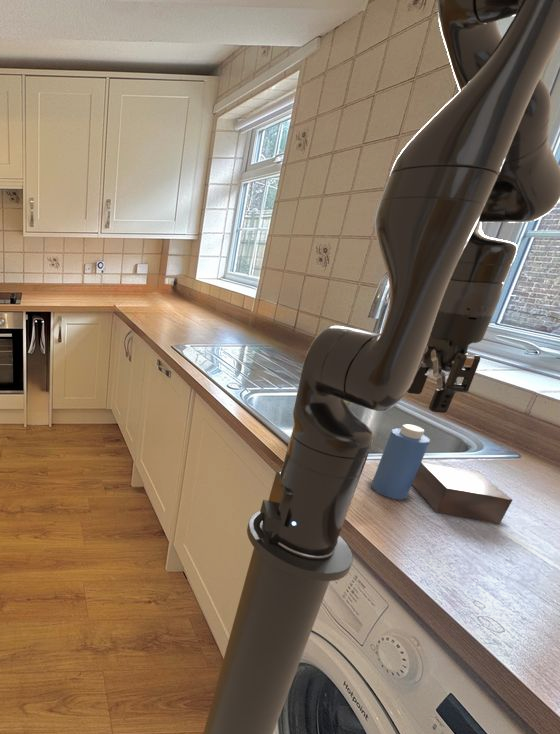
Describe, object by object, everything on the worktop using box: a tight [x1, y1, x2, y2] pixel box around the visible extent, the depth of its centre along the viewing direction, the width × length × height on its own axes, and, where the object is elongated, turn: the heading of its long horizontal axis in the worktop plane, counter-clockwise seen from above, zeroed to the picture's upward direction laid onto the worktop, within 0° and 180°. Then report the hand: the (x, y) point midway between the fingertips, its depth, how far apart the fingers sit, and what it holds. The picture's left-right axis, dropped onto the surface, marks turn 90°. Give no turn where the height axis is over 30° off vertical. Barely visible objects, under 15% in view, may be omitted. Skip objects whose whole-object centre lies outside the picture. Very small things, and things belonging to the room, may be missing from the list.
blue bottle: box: [370, 423, 431, 501], centre depth 75 cm, size 5×5×14 cm
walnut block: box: [411, 462, 513, 525], centre depth 74 cm, size 9×9×5 cm
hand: (424, 401), depth 71 cm, fingers open, 8 cm apart
